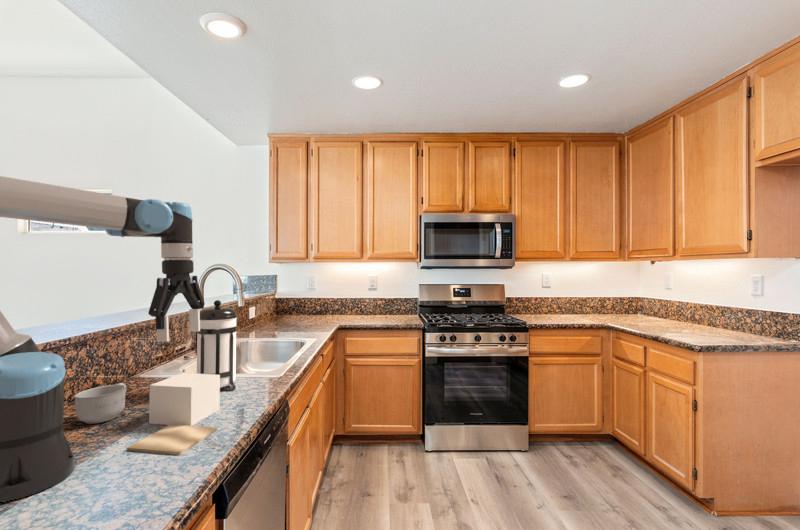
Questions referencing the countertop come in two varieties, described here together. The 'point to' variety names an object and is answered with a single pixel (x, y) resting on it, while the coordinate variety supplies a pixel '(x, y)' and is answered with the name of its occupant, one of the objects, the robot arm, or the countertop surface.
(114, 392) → the teacup
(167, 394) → the cover
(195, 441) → the board
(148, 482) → the countertop surface
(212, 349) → the coffee press
